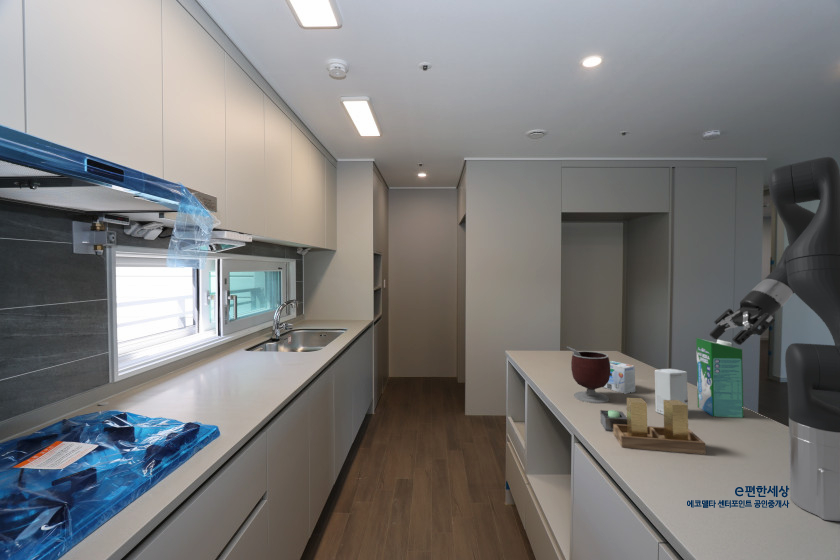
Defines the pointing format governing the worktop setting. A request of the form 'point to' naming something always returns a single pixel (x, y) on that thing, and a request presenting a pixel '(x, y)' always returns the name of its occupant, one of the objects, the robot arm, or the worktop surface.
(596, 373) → the mate gourd
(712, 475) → the worktop surface
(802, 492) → the robot arm
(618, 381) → the light bulb box
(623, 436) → the tray
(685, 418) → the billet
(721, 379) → the milk carton
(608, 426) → the button housing
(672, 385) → the skincare box
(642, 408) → the billet
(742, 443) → the worktop surface
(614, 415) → the button
